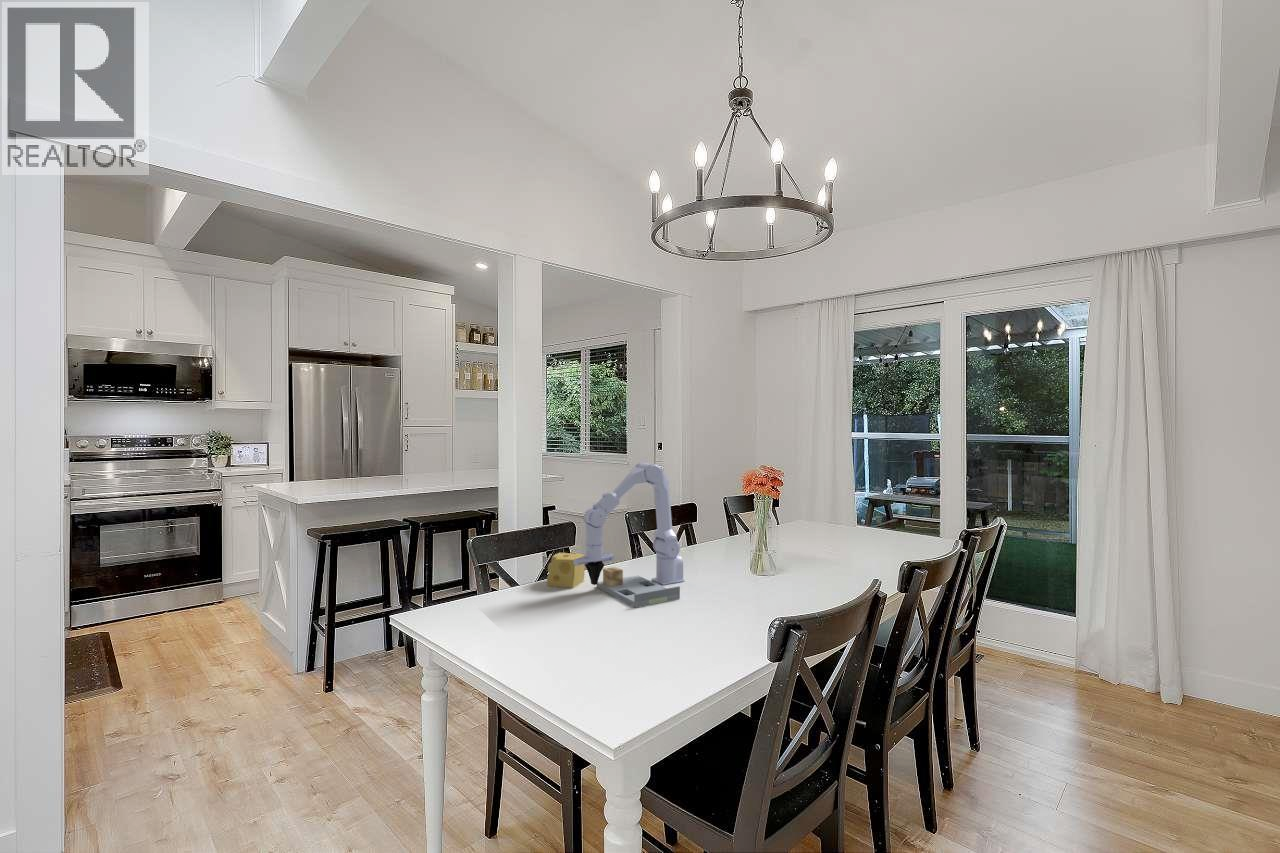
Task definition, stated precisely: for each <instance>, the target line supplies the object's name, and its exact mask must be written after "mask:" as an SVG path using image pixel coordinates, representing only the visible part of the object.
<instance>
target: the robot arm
mask: <svg viewBox="0 0 1280 853" xmlns="http://www.w3.org/2000/svg"><path fill="white" fill-rule="evenodd" d="M644 483H648V484H649V485H650V486H651V487H653V491H654V493H653V494H654V504H655V518H656V529H657V530H656V531H655V533H654V539H653V542H652V548H653V550H654V551H655V553H656V554H655V556H656V560H655V561H656V562H655V563H656V566H655V567H656V568H655V569H656V575H655V576H656V577H652V578H651V581H653V582H655V583H657V584H658V583H659V585H662V586H663V585H670V584H676V583H682V582H685V578H684V560H683V558H682V556H680V555H679V554H680V551H681V545H680V543H679V541H678V536H677V535H676V533H675V531H674V530H673V523H672V522H673V521H672V510H671V509H672V507H671V497H670V496H671V494H670V482H669V478H667V476H666V474H665V472H664V468H663V467H662V466H660V465H659V464H656V463H647V462H645V461H641V462H637V464H636V465H635V467H633V468H632V469H631V470H630V471H629V473H628V474H627V475H626V477H625V478H624V479H623V480H622V481H621V482H620V483H619V484H618V485H617V487H616V488H614V490H613V491H611V492H610V491H608V492H606V493H603V494H602V496H601V498H600V499H599V500H598V501H597V502H596V503H593V505H592V507H591V508H587V510H585V512H584V515H583V516H582V520H583V522H584V523H585V555H584V557H581V558H577V559H574V565H575V566H579V565H583V564H585V570H587V573H588V576H589V579H590V584H591V585H593V586H597V583H598V582H599V579H600V575H601V573H602V572H603V569H604V567H605V563H604V562H613V561H615V554H612V553H609V554H608V553H607V554H603V552H604V551H603V550H604V548H603V547H604V544H603V542H604V541H603V540H604V536H603V535H604V533H603V532H604V530H603V529H604V528H603V527H604V526H603V525H605V523H606V521H607V518H608V516H609V515H610V514H611V513H612V512H613V511H615V509H616V508H617V507H618V506H619V505H620V501H621V498H622V497H624V496H625V494H626V493H628V492H629V491H630V490H631V489H632V488H634V487H635V486H636V485H638V484H644Z"/></svg>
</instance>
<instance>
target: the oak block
mask: <svg viewBox="0 0 1280 853" xmlns="http://www.w3.org/2000/svg"><path fill="white" fill-rule="evenodd" d="M602 573H603V574H602V581H603V583H604V584H606V585H608V586H610V587H611V586H617V585H623V578H624V577H623V576H624V570H623V569H621V568H619V567H618V566H613V567H606V568H603V569H602Z"/></svg>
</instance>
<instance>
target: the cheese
mask: <svg viewBox="0 0 1280 853" xmlns="http://www.w3.org/2000/svg"><path fill="white" fill-rule="evenodd" d="M581 557H585V554H583V553H568V552H558V553H556V554H554V555H552V556H551V562H550V563H549V564H548V565H547V572H548V575H547V577H546V584H547V587H557V586H559V587H560V588H566V587H569V588H568V589H574V588H576V587H577V586H578V585H580V584H581V583H582V582H584V581H585V573H586V572H585V570H586V567H585V564H583V565H579V566H575V565H574V559H577V558H581ZM583 580H584V581H583ZM579 583H580V584H579ZM575 586H576V587H575Z"/></svg>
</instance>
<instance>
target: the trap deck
mask: <svg viewBox="0 0 1280 853" xmlns="http://www.w3.org/2000/svg"><path fill="white" fill-rule="evenodd" d="M596 588H598V589H600V590H601V591H604V592H605V593H607V594H609V595H611V596H613V597H615V598H616V597H617V598H616V599H618V598H619V600H620V601H622V602H624V603H626V604H627V605H629V606H631V605H632V607H633V606H634V608H635V607H636V608H639V607H640V606H641V607H645V605H646V606H650V605H654V604H655V603H656V604H660V602H661V603H666V602H669V601H670V602H671V601H676V600H675V599H677V600H680V599H679V598H681V595H680V594H681V593H680V592H681V587H680V586H673V587H668V588H667V587H665V586H663V585H662V584H658V583H657V582H655V581H652V580H649V579H646V578H644V577H643V576H640V575H634V576H633V575H632V576H627V577H623V585H617V586H611V587H610V586H608V585H606V584H604V583H603V580H602V581H598V583H597V585H596ZM665 601H666V602H665Z"/></svg>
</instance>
